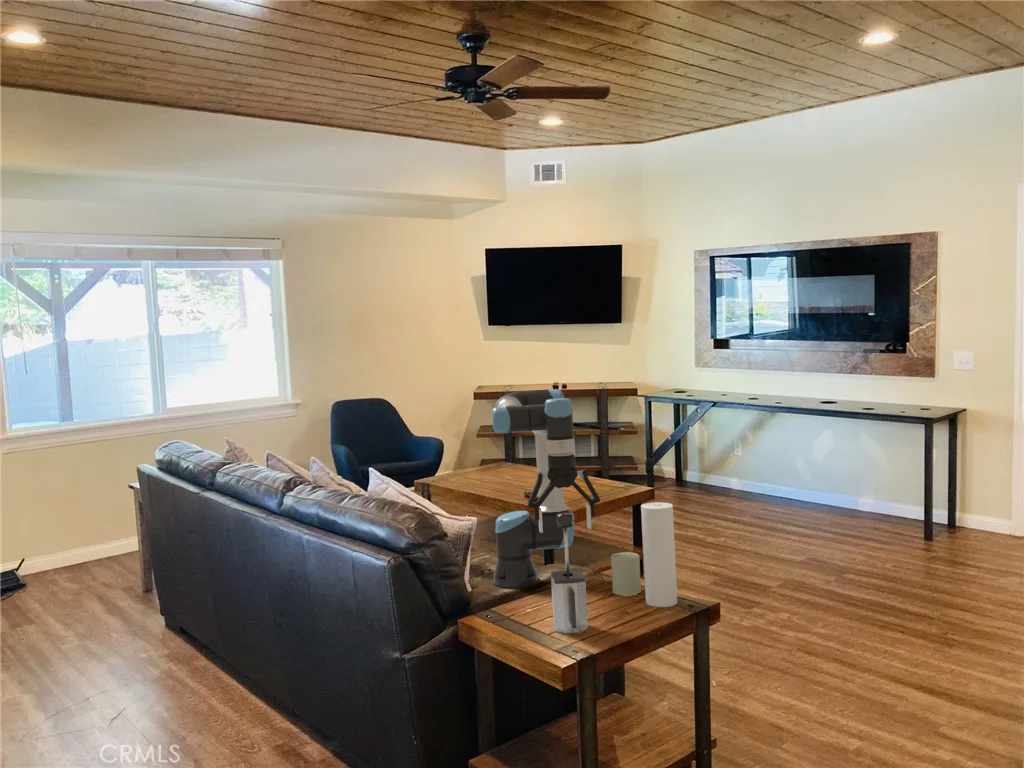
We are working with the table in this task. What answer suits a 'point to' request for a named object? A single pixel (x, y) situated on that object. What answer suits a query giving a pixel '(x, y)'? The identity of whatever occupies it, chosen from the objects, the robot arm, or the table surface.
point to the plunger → (565, 534)
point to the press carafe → (569, 602)
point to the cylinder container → (659, 554)
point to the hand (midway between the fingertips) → (565, 529)
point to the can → (626, 573)
